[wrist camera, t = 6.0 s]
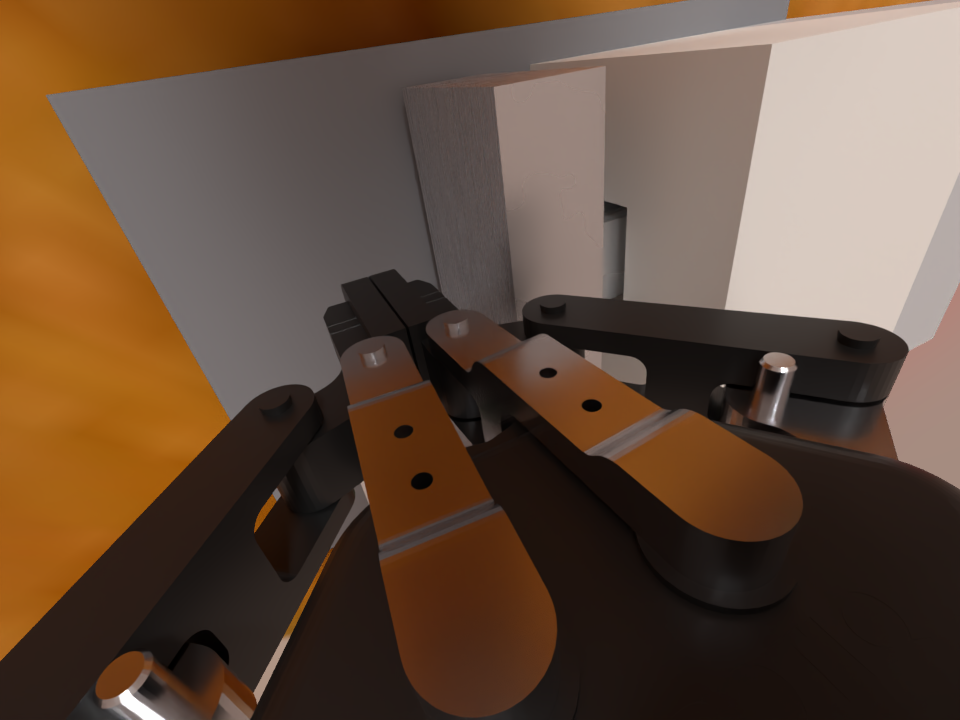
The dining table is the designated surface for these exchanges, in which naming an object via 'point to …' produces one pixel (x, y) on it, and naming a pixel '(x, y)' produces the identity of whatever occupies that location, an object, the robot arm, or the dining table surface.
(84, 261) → the dining table surface
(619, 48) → the stand
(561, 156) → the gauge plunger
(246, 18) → the dining table surface
